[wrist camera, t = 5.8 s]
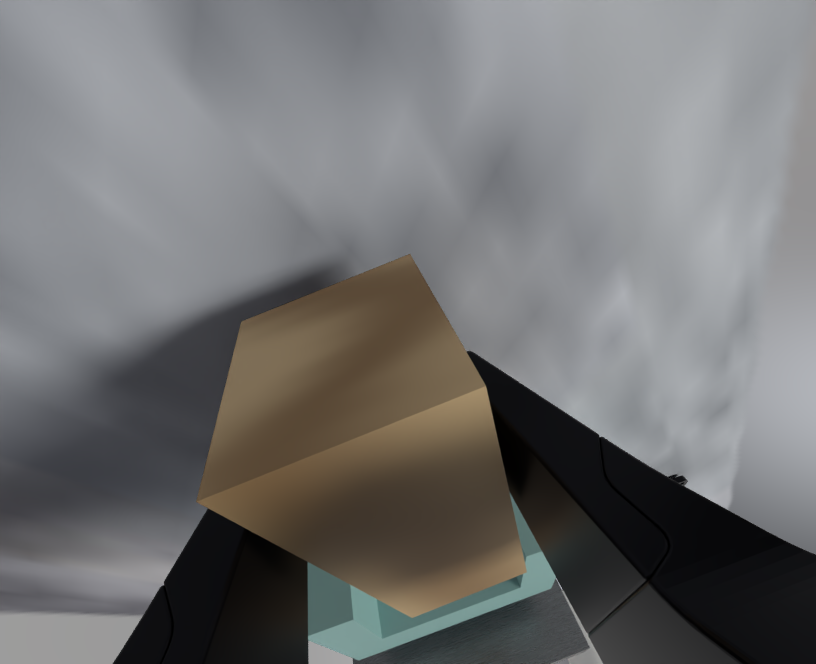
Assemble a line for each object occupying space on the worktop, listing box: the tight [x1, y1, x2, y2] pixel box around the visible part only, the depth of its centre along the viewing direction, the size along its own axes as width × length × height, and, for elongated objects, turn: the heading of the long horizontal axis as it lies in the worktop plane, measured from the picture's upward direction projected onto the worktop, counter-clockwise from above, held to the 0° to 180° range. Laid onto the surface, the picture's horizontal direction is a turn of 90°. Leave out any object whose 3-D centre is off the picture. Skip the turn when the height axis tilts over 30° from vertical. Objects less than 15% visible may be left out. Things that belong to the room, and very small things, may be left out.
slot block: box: [308, 492, 556, 660], centre depth 17 cm, size 11×8×4 cm
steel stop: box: [353, 578, 590, 664], centre depth 23 cm, size 14×4×7 cm, turn 100°
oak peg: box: [196, 254, 527, 618], centre depth 9 cm, size 4×10×4 cm, turn 16°
